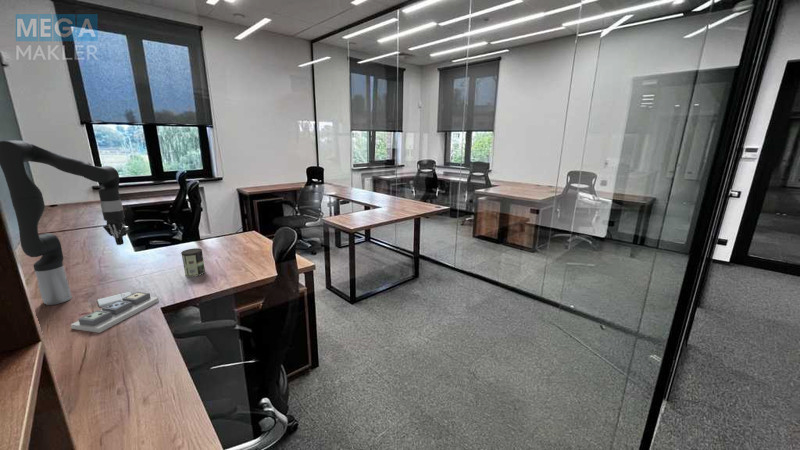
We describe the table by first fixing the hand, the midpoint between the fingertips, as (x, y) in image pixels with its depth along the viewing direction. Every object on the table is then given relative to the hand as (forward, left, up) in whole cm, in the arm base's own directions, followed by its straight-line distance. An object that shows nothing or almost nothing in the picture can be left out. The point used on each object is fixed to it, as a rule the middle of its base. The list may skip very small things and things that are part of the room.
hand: (120, 244), depth 155 cm
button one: (+12, -7, -25) cm, 29 cm away
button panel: (+12, -16, -27) cm, 34 cm away
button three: (+12, -16, -25) cm, 32 cm away
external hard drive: (-3, -6, -28) cm, 28 cm away
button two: (+12, -25, -25) cm, 37 cm away
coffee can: (+10, +30, -27) cm, 42 cm away
